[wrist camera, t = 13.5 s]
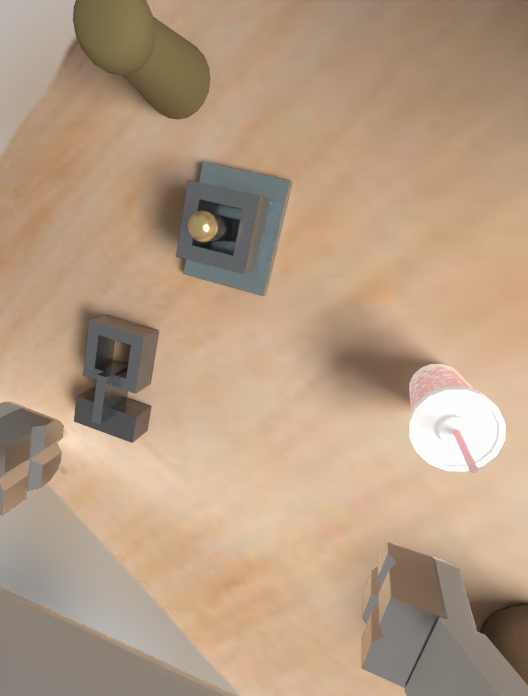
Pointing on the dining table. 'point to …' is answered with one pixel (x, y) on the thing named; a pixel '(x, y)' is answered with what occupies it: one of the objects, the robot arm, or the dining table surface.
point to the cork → (143, 54)
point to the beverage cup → (452, 420)
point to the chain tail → (116, 378)
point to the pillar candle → (510, 636)
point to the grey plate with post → (227, 224)
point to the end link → (249, 231)
